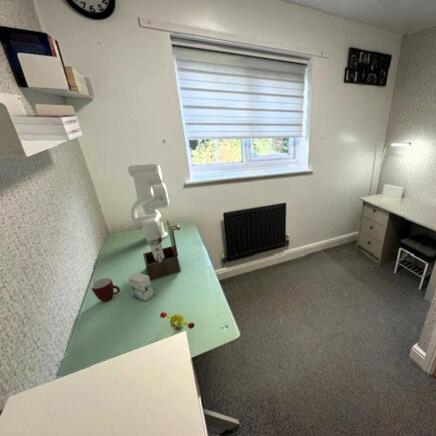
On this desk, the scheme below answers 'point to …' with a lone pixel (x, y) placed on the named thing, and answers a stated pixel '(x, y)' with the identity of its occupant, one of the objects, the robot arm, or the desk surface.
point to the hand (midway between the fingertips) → (160, 266)
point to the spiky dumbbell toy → (176, 320)
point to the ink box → (141, 286)
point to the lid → (173, 236)
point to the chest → (162, 264)
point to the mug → (104, 289)
